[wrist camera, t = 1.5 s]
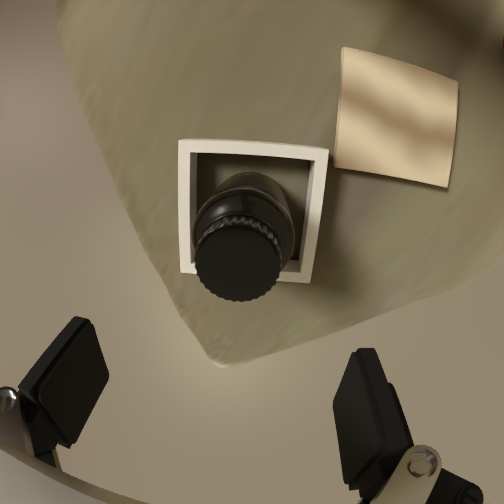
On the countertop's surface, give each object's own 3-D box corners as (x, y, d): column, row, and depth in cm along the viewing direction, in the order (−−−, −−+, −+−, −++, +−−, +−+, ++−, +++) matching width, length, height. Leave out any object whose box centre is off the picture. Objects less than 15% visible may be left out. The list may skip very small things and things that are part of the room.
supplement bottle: (287, 241, 28) (297, 318, 17) (216, 242, 28) (184, 317, 17) (287, 168, 25) (302, 203, 14) (210, 171, 25) (165, 207, 14)
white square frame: (187, 138, 24) (178, 140, 22) (323, 147, 24) (328, 149, 22) (187, 260, 29) (180, 272, 27) (306, 270, 29) (309, 283, 27)
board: (341, 49, 20) (344, 46, 19) (452, 82, 20) (458, 81, 19) (332, 165, 24) (334, 167, 24) (442, 185, 24) (447, 187, 23)
